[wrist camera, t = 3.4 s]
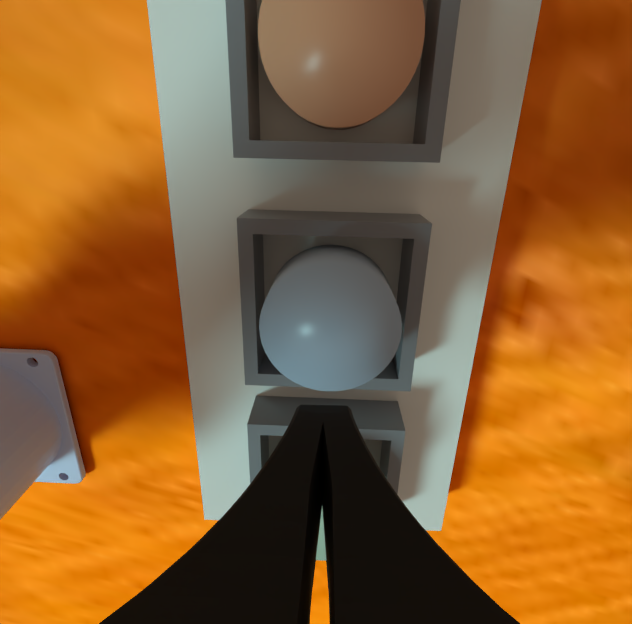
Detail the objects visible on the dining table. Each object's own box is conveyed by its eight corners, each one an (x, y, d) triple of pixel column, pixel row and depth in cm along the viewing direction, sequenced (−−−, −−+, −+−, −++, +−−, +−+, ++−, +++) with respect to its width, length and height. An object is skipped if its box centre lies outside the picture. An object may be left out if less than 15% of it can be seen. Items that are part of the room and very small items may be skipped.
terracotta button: (271, 128, 14) (260, 124, 12) (268, -35, 12) (255, -73, 10) (402, 131, 14) (414, 128, 11) (417, -33, 12) (435, -71, 10)
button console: (214, 488, 23) (191, 555, 19) (159, -98, 13) (92, -193, 9) (431, 498, 22) (451, 569, 19) (533, -95, 13) (615, -193, 9)
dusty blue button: (270, 357, 15) (261, 388, 13) (268, 242, 14) (256, 259, 12) (386, 361, 15) (394, 394, 13) (397, 246, 14) (409, 263, 12)
